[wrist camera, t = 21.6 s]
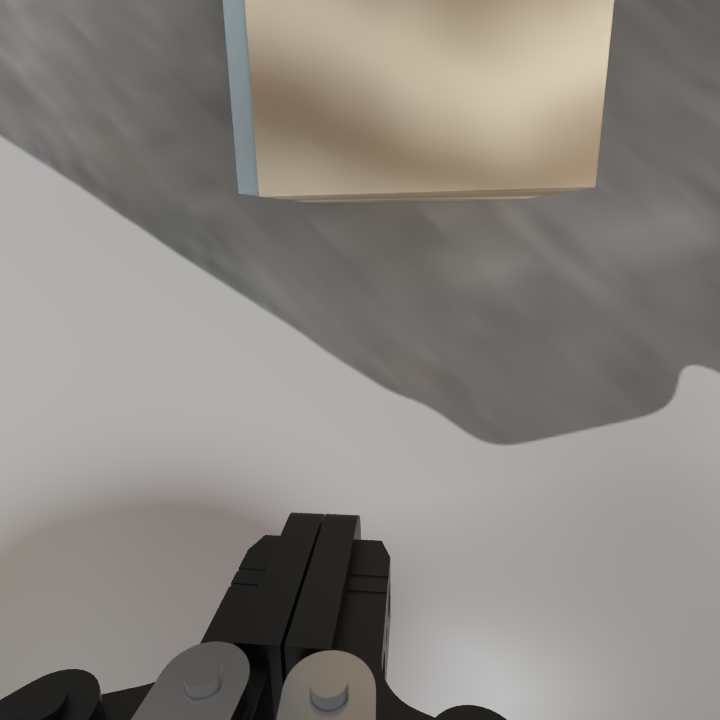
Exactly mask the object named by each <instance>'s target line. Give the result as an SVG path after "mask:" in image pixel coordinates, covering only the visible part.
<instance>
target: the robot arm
mask: <svg viewBox="0 0 720 720" xmlns="http://www.w3.org/2000/svg"><path fill="white" fill-rule="evenodd" d="M360 529H361V528H360V516H359V515H358V516H357V515H337V514H326V515H324V514H311V513H291V514H290V515H289V517H288V520H287V522H286V524H285V526H284V529H283V531H282V533H281V536H272V535H265V536H264V537H262V538H261V539H260V540H259V541H258V542H257V543H256V544H254V545H253V546H252V547H251V548H250V549H249V550H248V551H247V553H246V555H245V557H244V559H243V561H242V563H241V565H240V567H239V571H238V572H237V573H236V575H235V576H234V578H233V580H232V582H231V587H229V588H228V591H227V592H226V594H225V596H224V598H223V600H222V602H221V604H220V606H219V608H218V610H217V612H216V614H215V616H214V618H213V620H212V621H211V623H210V626H209V627H208V629H207V631H206V633H205V635H204V637H203V639H202V641H201V643H200V644H199V645H196V646H193V647H191V648H189V649H187V650H185V651H183V652H182V653H180V654H179V655H178V656H176V657H175V658H174V659H173V660H172V661H171V662H170V663H169V664H168V665H167V666H166V667H165V668H164V670H163V671H162V673H161V674H160V676H159V677H158V679H157V680H156V682H153V683H151V684H147V685H143V686H139V687H135V688H130V689H126V690H121V691H116V692H111V693H107V694H102V695H101V691H100V686H99V683H98V680H97V679H96V678H95V677H94V675H92V674H91V673H89V672H87V671H84V670H79V669H67V670H61V671H57V672H54V673H50V674H48V675H45V676H43V677H41V678H39V679H37V680H35V681H33V682H31V683H29V684H28V685H26V686H24V687H22V688H20V689H19V690H17V691H15V692H13V693H12V694H10V695H8V696H6V697H5V698H3V699H1V700H0V720H506V719H505V718H504V717H502V716H501V715H499V714H497V713H496V712H493V711H492V710H489V709H486V708H483V707H479V706H474V705H461V706H456V707H452V708H449V709H447V710H445V711H444V712H442V713H440V714H439V715H438V716H437V717H436V718H434V717H432V716H430V715H427V714H425V713H423V712H420V711H418V710H416V709H414V708H412V707H410V706H408V705H407V704H405V703H404V702H402V701H401V700H400V699H399V698H398V697H397V696H396V695H395V694H394V693H393V692H392V690H391V689H390V688H389V686H388V684H387V682H386V674H387V658H388V646H389V630H390V617H391V616H390V556H389V554H388V552H387V550H386V549H385V547H384V545H383V543H382V541H374V540H361V533H360V532H361V530H360Z"/></svg>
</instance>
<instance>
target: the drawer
mask: <svg viewBox="0 0 720 720" xmlns="http://www.w3.org/2000/svg"><path fill="white" fill-rule="evenodd" d="M223 12H224V24H225V36H226V48H227V60H228V72H229V84H230V96H231V108H232V120H233V132H234V144H235V156H236V168H237V180H238V192H239V194H245V195H253V196H259V189H258V175H257V162H256V148H255V134H254V120H253V107H252V93H251V79H250V66H249V52H248V38H247V24H246V11H245V0H223Z"/></svg>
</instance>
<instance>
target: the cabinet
mask: <svg viewBox="0 0 720 720" xmlns="http://www.w3.org/2000/svg"><path fill="white" fill-rule="evenodd" d="M613 6H614V0H245V11H246V24H247V38H248V52H249V66H250V79H251V93H252V107H253V120H254V134H255V148H256V162H257V175H258V189H259V196H260V197H268V198H276V199H283V200H291V201H299V202H307V203H315V204H343V203H382V202H421V201H460V200H498V199H527V198H533V197H539V196H545V195H551V194H557V193H563V192H569V191H574V190H580V189H586V188H592V187H595V184H596V174H597V164H598V155H599V145H600V135H601V125H602V115H603V105H604V95H605V85H606V75H607V66H608V56H609V46H610V36H611V26H612V16H613Z"/></svg>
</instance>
